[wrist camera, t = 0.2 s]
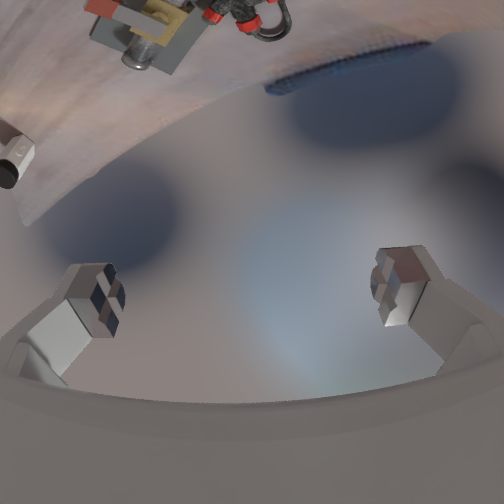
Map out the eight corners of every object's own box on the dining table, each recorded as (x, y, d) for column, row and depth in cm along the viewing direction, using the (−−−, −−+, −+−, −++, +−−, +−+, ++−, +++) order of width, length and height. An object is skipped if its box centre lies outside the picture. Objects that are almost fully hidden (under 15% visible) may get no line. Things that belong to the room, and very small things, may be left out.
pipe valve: (183, -38, 29) (174, -37, 25) (218, -20, 33) (214, -18, 28) (125, 49, 42) (111, 62, 38) (155, 63, 46) (145, 78, 42)
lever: (172, 20, 33) (167, 24, 31) (162, 35, 35) (157, 40, 33) (98, -11, 26) (89, -8, 24) (90, 5, 28) (81, 9, 26)
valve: (224, 51, 47) (187, -8, 34) (350, 12, 40) (333, -52, 27) (228, 67, 44) (188, 1, 31) (365, 25, 38) (349, -46, 24)
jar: (40, 147, 59) (20, 179, 52) (28, 162, 62) (10, 194, 55) (18, 128, 52) (-5, 159, 46) (7, 145, 55) (-14, 176, 49)
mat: (149, -57, 24) (147, -58, 24) (241, -13, 34) (240, -13, 34) (91, 37, 39) (89, 38, 38) (171, 73, 49) (171, 75, 48)
